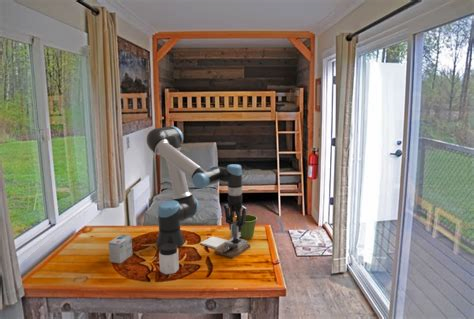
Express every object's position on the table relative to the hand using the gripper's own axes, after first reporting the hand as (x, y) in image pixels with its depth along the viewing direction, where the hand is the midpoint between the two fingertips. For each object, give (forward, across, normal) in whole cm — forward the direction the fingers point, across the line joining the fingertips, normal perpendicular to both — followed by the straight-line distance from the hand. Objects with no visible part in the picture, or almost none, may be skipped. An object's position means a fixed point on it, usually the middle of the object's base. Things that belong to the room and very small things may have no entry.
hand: (235, 236), depth 203 cm
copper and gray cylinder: (+5, 0, 0) cm, 5 cm away
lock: (+7, 0, -3) cm, 7 cm away
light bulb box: (+7, -46, -38) cm, 60 cm away
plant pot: (+7, -2, +17) cm, 19 cm away
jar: (+7, -16, -36) cm, 40 cm away
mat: (+7, -14, 0) cm, 16 cm away
